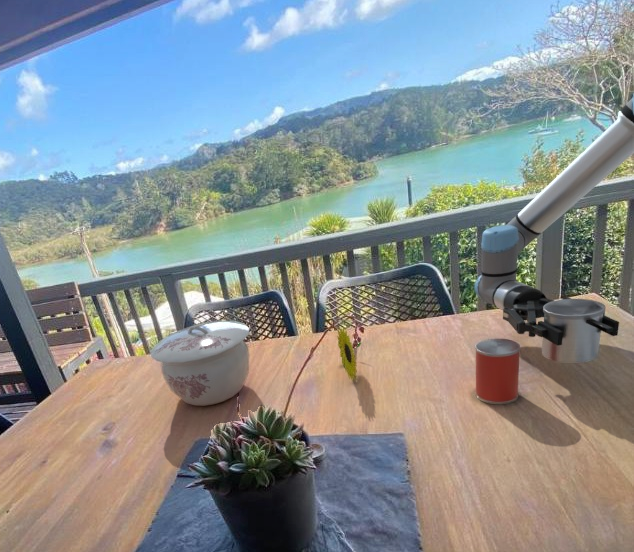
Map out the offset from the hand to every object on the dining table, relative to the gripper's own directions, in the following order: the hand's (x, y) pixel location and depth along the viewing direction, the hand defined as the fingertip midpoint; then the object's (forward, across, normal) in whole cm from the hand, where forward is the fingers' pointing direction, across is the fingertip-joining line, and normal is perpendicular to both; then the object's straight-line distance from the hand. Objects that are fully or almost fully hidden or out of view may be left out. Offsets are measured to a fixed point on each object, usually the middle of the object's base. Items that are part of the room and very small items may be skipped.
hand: (588, 333), depth 82 cm
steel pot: (-2, 0, -6) cm, 6 cm away
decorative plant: (-30, +39, -13) cm, 51 cm away
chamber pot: (-29, +78, -14) cm, 84 cm away
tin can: (-4, +14, -13) cm, 20 cm away
